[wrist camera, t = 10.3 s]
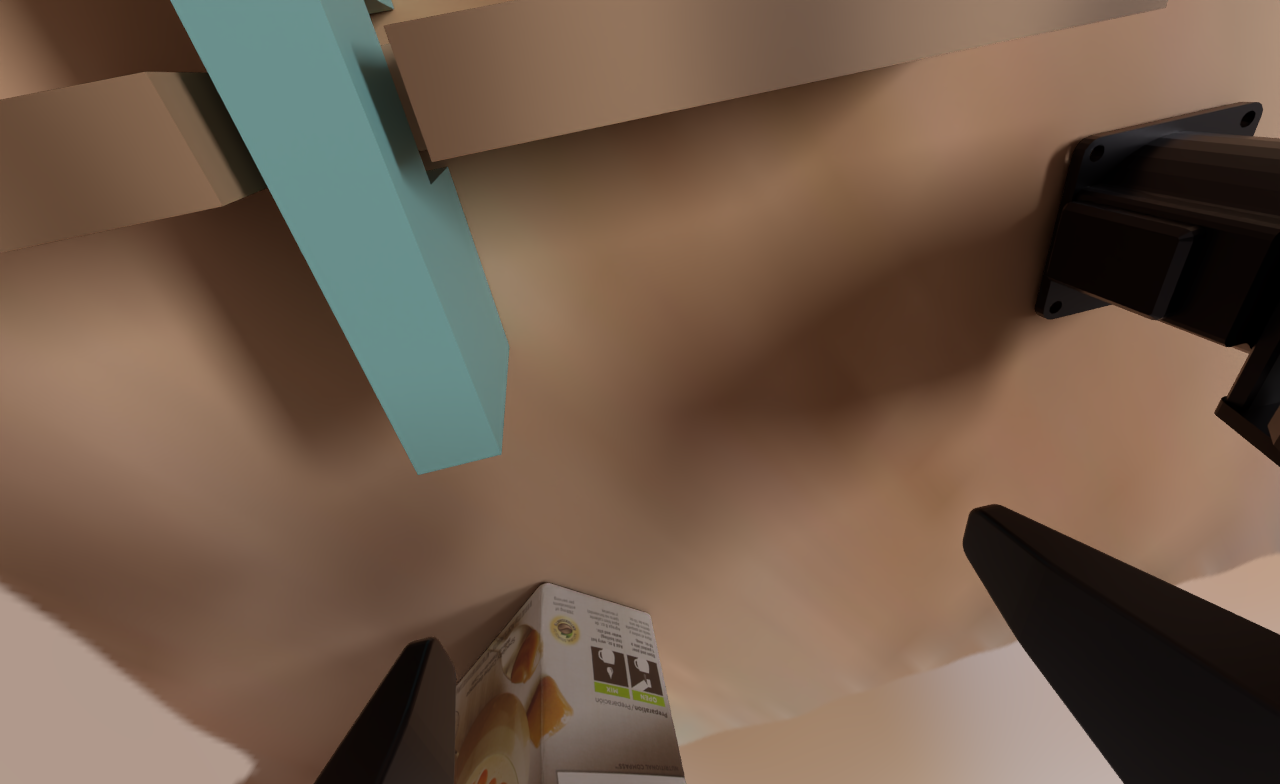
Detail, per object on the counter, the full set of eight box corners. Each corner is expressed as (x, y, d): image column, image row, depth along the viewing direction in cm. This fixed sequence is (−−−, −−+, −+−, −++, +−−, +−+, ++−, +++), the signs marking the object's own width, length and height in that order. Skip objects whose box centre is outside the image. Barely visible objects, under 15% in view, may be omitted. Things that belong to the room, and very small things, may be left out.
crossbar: (155, -349, 10) (-261, -823, 5) (266, -365, 10) (-18, -845, 5) (450, 360, 18) (417, 474, 13) (509, 346, 18) (501, 454, 13)
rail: (964, -58, 14) (1207, -134, 9) (953, 31, 15) (1165, 7, 10) (118, 108, 13) (-150, 129, 8) (171, 193, 14) (-35, 260, 9)
